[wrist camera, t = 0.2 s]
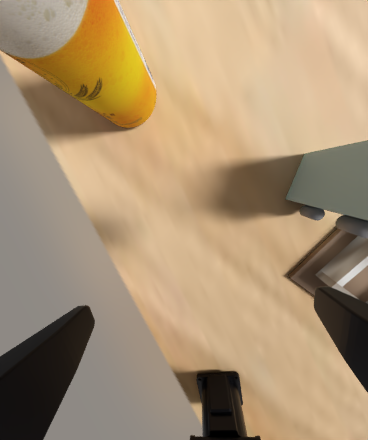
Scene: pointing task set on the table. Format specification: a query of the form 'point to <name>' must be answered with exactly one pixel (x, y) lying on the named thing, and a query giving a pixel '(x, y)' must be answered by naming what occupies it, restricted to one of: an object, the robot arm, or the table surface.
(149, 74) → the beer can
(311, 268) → the brown framed base board
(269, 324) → the table surface
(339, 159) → the pale blue box
